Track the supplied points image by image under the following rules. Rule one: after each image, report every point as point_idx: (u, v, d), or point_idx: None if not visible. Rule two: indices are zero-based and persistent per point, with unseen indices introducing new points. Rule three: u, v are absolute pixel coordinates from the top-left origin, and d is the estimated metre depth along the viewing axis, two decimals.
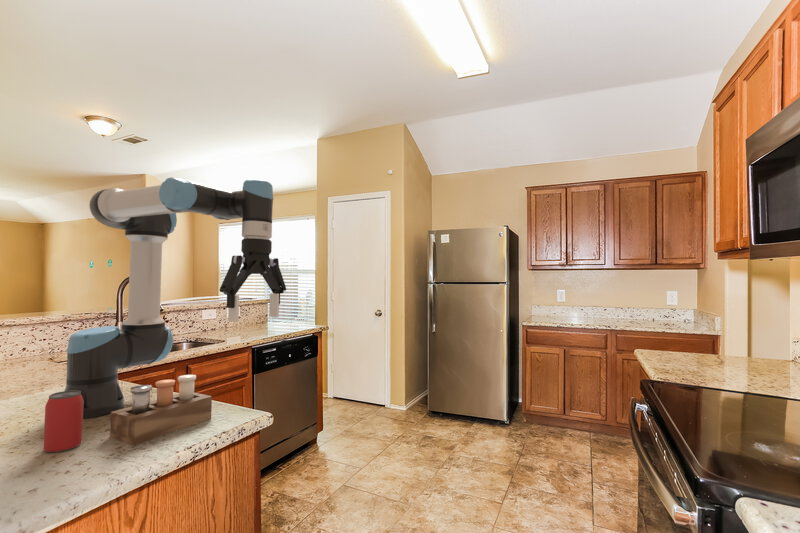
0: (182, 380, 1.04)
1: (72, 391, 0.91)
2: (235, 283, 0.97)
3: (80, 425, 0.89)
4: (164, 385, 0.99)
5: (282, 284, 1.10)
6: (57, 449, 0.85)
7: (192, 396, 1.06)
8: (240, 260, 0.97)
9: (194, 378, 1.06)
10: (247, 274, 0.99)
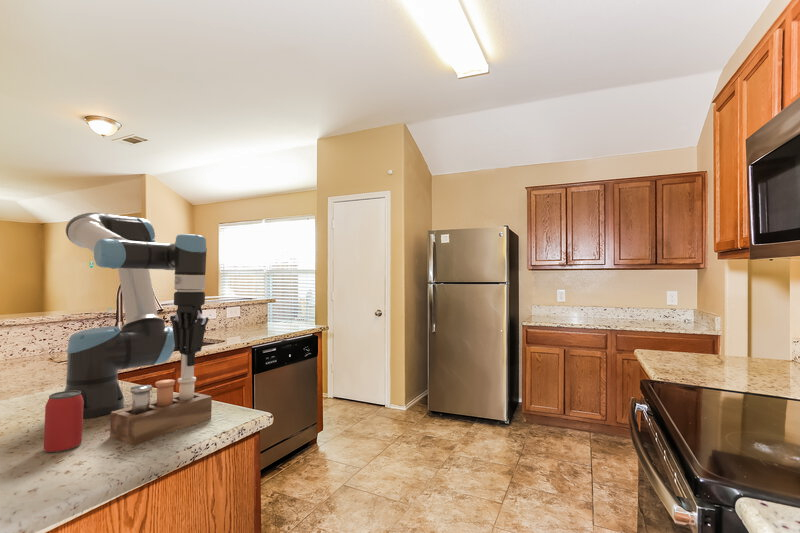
0: (182, 382, 1.04)
1: (72, 391, 0.91)
2: None
3: (80, 425, 0.89)
4: (164, 385, 0.99)
5: (192, 344, 1.04)
6: (57, 449, 0.85)
7: (192, 398, 1.06)
8: (172, 319, 1.08)
9: (194, 380, 1.06)
10: (181, 329, 1.06)
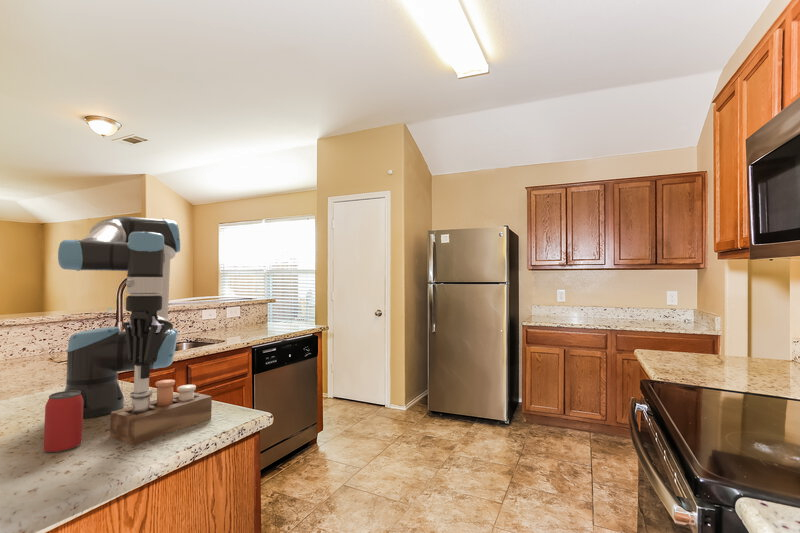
0: (182, 390, 1.04)
1: (72, 391, 0.91)
2: None
3: (80, 425, 0.89)
4: (164, 385, 0.99)
5: (145, 354, 0.93)
6: (57, 449, 0.85)
7: None
8: (125, 326, 0.97)
9: (194, 388, 1.06)
10: (134, 337, 0.95)
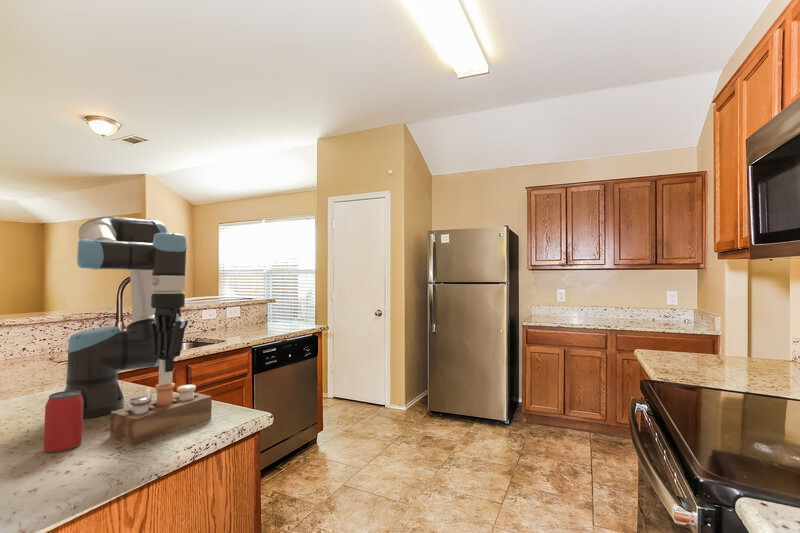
0: (182, 390, 1.04)
1: (72, 391, 0.91)
2: None
3: (80, 425, 0.89)
4: (164, 388, 0.99)
5: (170, 349, 0.99)
6: (57, 449, 0.85)
7: None
8: (150, 322, 1.03)
9: (194, 388, 1.06)
10: (159, 333, 1.01)
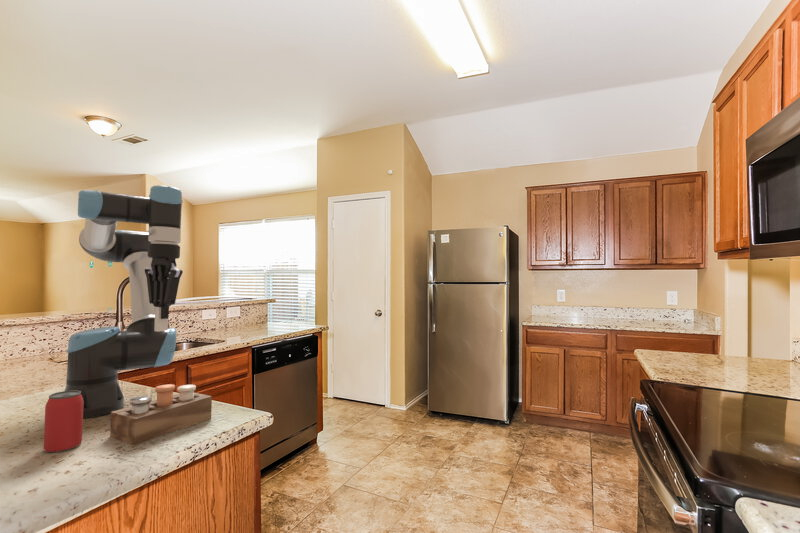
0: (182, 390, 1.04)
1: (72, 391, 0.91)
2: None
3: (80, 425, 0.89)
4: (164, 390, 0.99)
5: (165, 296, 1.03)
6: (57, 449, 0.85)
7: None
8: (146, 272, 1.07)
9: (194, 388, 1.06)
10: (155, 282, 1.05)
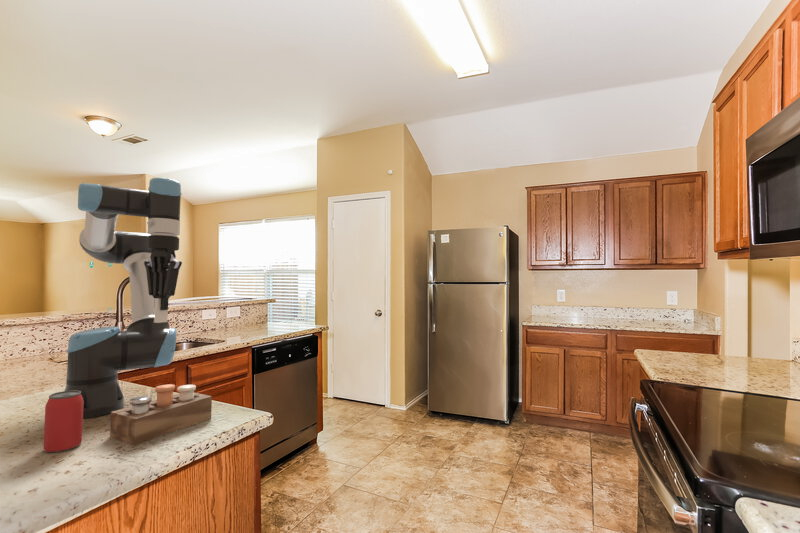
0: (182, 390, 1.04)
1: (72, 391, 0.91)
2: None
3: (80, 425, 0.89)
4: (164, 390, 0.99)
5: (165, 288, 1.04)
6: (57, 449, 0.85)
7: None
8: (146, 264, 1.08)
9: (194, 388, 1.06)
10: (154, 273, 1.06)
